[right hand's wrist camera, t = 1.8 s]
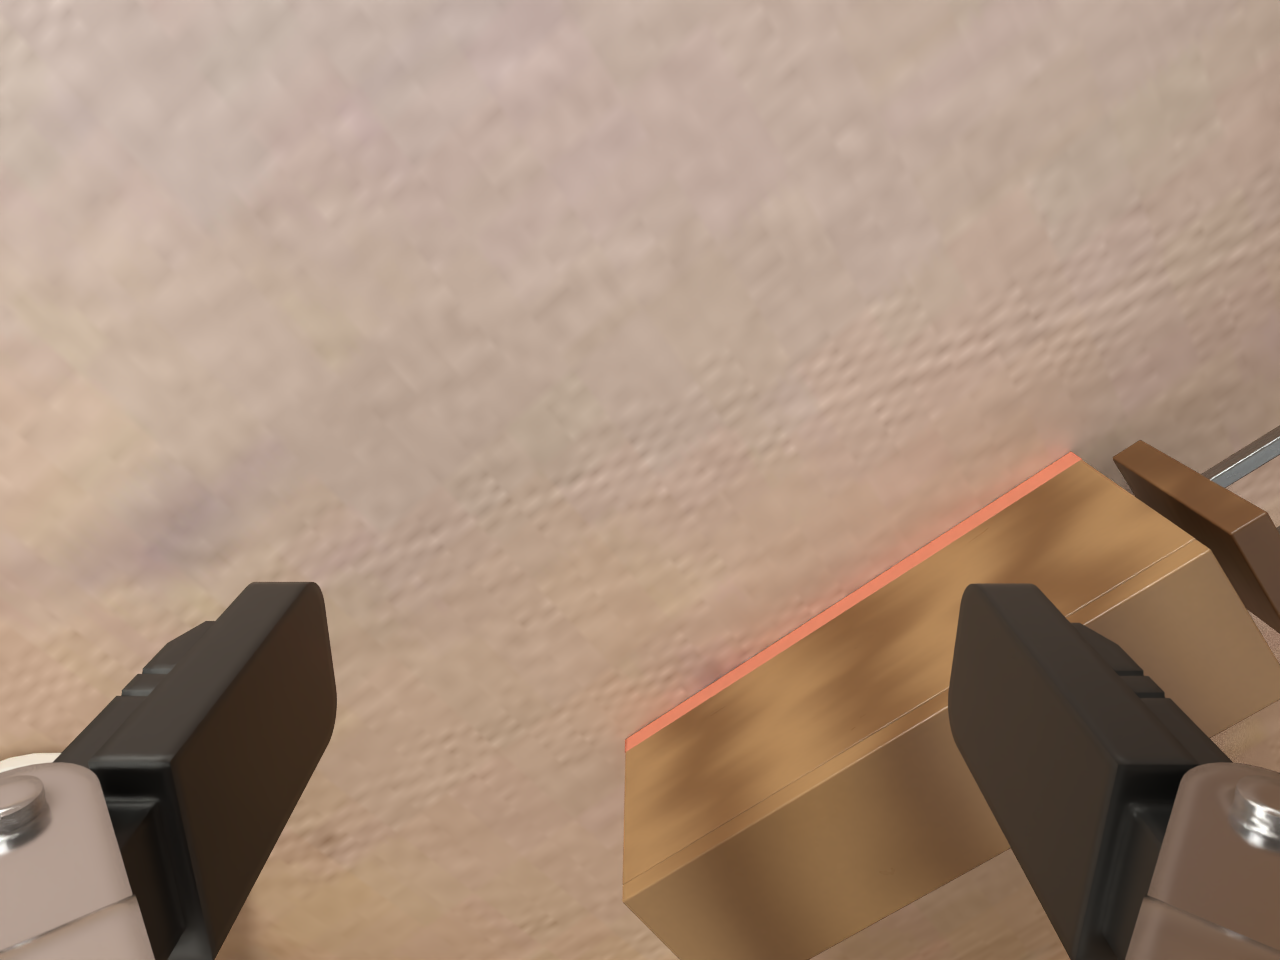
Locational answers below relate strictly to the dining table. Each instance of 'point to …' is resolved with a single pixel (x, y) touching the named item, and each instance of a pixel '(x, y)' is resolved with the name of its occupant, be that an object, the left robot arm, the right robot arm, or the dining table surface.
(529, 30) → the dining table surface
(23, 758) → the left robot arm
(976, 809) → the cabinet
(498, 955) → the dining table surface
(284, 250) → the dining table surface
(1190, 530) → the drawer
